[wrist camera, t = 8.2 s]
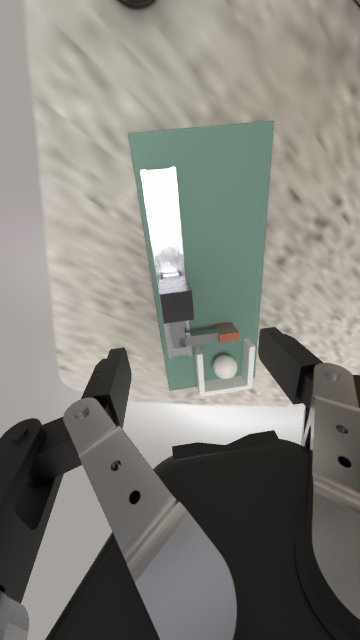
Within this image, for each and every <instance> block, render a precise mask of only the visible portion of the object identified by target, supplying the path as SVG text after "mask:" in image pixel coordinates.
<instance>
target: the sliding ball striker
mask: <svg viewBox="0 0 360 640" xmlns="http://www.w3.org/2000/svg"><path fill="white" fill-rule="evenodd" d="M163 276H164V279H159V295H160V302H161V308H162V315H163V322H164V324H166V323H170V328H171V336H172V343H173V349H176V348H183V347H187V346H194V345H201V344H208V343H215V342H219V343H226V342H233V341H239V331H238V330H237V329H236V328H235V326H234V325H233V324H232V323H225V324H218V325H214V329H210V330H203V331H196V332H189V333H185V328H184V321H188V320H194V310H193V297H192V289H191V288H190V286H189V284H188V282H187V280H186V278H185V277H184V276H181V277H179V274H178V272H177V273H169V274H163Z"/></svg>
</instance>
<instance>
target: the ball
mask: <svg viewBox="0 0 360 640" xmlns="http://www.w3.org/2000/svg"><path fill="white" fill-rule="evenodd" d="M213 370H214V372H215V374H216V375H217V376H218V377H220V378H222V379H230V378H232V377H233V376H234V375H235V374H236V372H237V364H236V361H235V360H234V359H233V358H232V357H231V356H228V355H221V356H219V357H217V358H216V359H215V361H214V363H213Z"/></svg>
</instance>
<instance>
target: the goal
mask: <svg viewBox="0 0 360 640" xmlns="http://www.w3.org/2000/svg"><path fill="white" fill-rule="evenodd" d="M194 351H195V364H196V376H197V387H198V391H199V394H200V397H202V396H208V395H215V394H221V393H228V392H234V391H241V390H247V389H252V385H253V371H254V357H255V346H254V345H253V343H252V342H251V341H250V340H249V338H246V339H243V354H242V375H240V376H234V377H232V378H230V379H222V378H220V379H214V380H207V381H204V369H203V354H202V351H201V348H200V346H199V345H196V346H194Z"/></svg>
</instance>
